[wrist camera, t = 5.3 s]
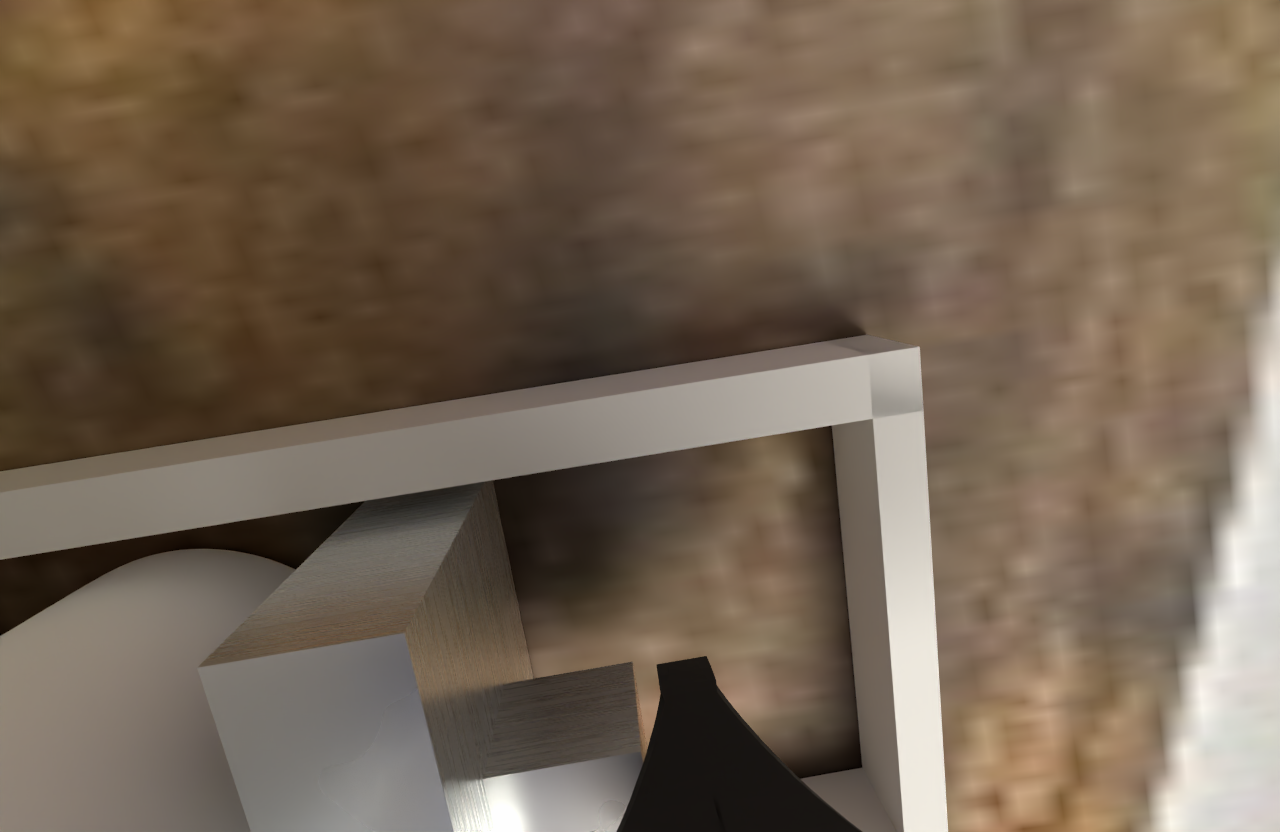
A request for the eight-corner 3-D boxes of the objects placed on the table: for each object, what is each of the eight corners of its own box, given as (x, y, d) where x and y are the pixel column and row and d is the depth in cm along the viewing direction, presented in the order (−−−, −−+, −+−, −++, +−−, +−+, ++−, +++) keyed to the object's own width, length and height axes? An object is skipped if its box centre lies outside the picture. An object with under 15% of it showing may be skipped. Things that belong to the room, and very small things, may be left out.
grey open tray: (867, 335, 12) (1120, 393, 6) (902, 801, 14) (1114, 1168, 8) (-214, 505, 12) (-1046, 744, 6) (-7, 964, 14) (-453, 1477, 8)
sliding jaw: (602, 451, 12) (607, 598, 7) (660, 802, 14) (703, 1149, 8) (349, 492, 12) (144, 677, 6) (438, 841, 13) (333, 1221, 8)
